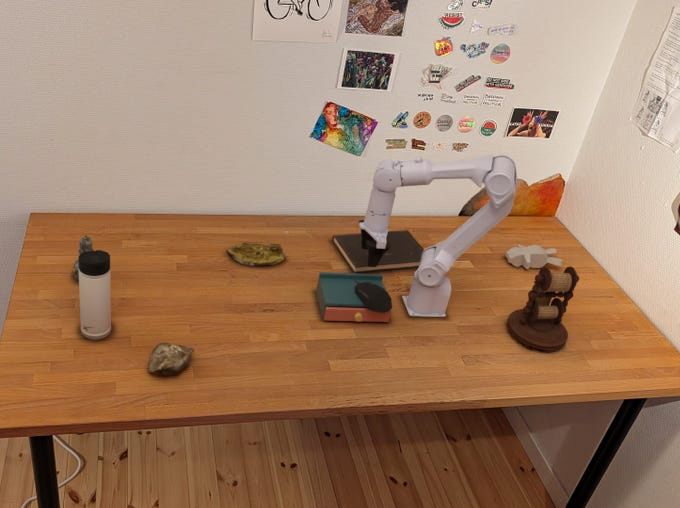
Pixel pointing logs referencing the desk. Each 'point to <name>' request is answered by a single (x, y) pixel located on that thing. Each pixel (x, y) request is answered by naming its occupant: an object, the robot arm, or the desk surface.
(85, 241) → the grey stone figurine
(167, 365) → the rock
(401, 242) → the hardcover book
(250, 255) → the mossy rock
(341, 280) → the teal drawer box
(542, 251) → the bunny figurine
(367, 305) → the gaming mouse
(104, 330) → the travel mug
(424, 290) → the robot arm
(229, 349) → the desk surface
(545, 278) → the brown round-based upright piece
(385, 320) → the drawer
